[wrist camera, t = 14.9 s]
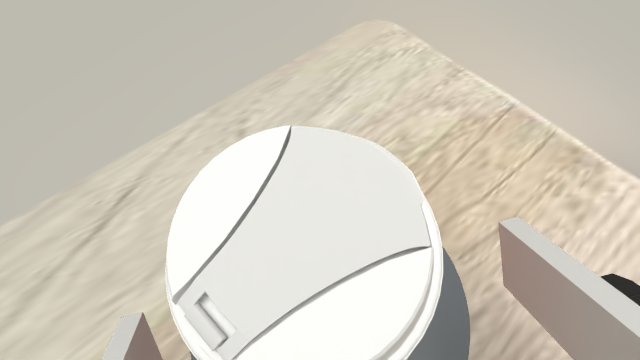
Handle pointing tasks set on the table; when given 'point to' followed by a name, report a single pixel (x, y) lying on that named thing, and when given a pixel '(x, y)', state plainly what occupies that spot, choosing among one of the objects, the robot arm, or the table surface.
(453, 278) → the saucer
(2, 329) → the table surface
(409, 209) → the coffee cup
